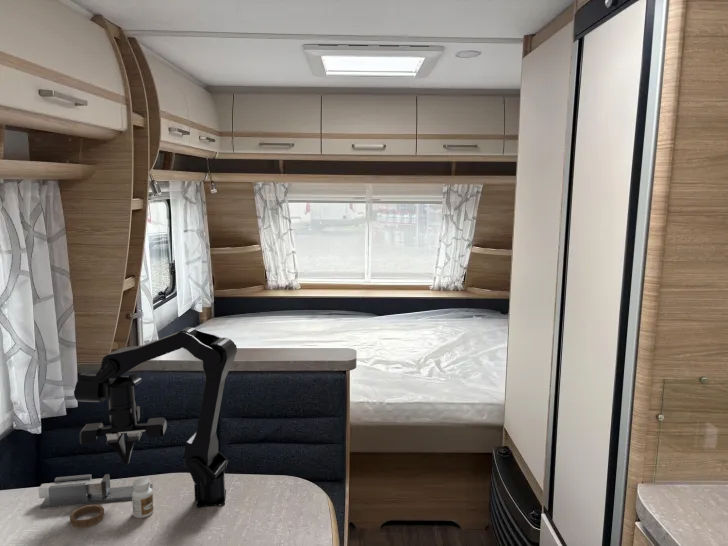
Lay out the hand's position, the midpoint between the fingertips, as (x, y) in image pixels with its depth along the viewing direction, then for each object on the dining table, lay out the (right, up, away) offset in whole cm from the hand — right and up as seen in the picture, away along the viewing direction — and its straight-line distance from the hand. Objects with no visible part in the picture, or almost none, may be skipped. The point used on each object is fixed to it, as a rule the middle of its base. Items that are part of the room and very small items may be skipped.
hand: (126, 463), depth 139 cm
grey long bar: (-12, -7, -1) cm, 14 cm away
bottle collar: (-5, -9, -9) cm, 14 cm away
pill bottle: (+7, -9, -7) cm, 14 cm away
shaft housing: (-7, -8, 0) cm, 11 cm away
